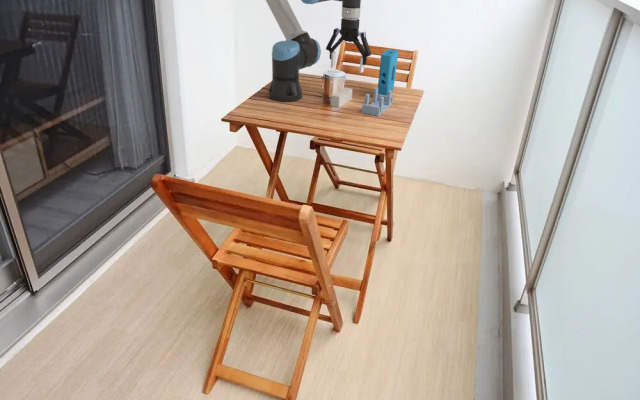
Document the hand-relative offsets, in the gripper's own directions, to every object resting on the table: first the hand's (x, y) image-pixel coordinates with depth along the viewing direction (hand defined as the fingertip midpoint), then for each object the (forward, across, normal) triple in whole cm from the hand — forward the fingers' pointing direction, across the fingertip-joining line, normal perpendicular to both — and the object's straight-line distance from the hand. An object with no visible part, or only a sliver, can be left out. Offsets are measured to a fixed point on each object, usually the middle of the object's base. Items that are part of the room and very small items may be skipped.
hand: (347, 69), depth 209 cm
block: (+14, +13, +16) cm, 25 cm away
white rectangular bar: (+14, 0, -4) cm, 14 cm away
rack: (+14, +16, -2) cm, 21 cm away
